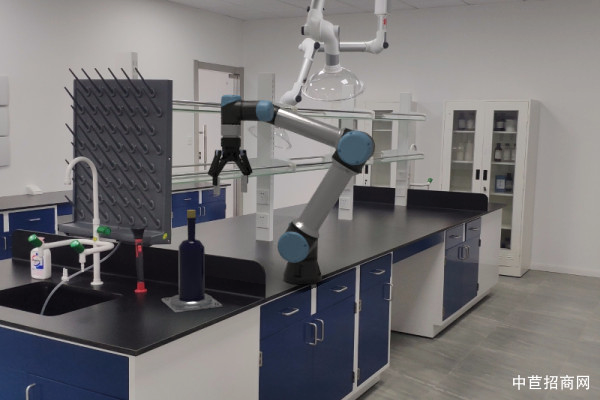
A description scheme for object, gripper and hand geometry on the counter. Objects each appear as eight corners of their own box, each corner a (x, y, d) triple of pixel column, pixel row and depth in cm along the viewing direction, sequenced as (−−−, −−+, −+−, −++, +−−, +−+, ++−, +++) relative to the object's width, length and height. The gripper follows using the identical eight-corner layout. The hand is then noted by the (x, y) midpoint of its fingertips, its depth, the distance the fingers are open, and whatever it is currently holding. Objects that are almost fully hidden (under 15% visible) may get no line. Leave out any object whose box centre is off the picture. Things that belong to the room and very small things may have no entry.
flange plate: (206, 295, 223) (206, 290, 223) (222, 306, 209) (222, 301, 209) (161, 300, 216) (161, 295, 215) (175, 312, 202) (175, 307, 201)
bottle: (196, 293, 219) (196, 208, 215) (210, 299, 212) (210, 210, 208) (172, 297, 213) (172, 209, 209) (186, 303, 206) (186, 212, 202)
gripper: (248, 136, 246) (248, 190, 248) (198, 136, 227) (198, 194, 230) (261, 137, 241) (261, 192, 243) (211, 136, 222) (211, 196, 225)
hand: (230, 193), depth 236 cm, fingers open, 13 cm apart
